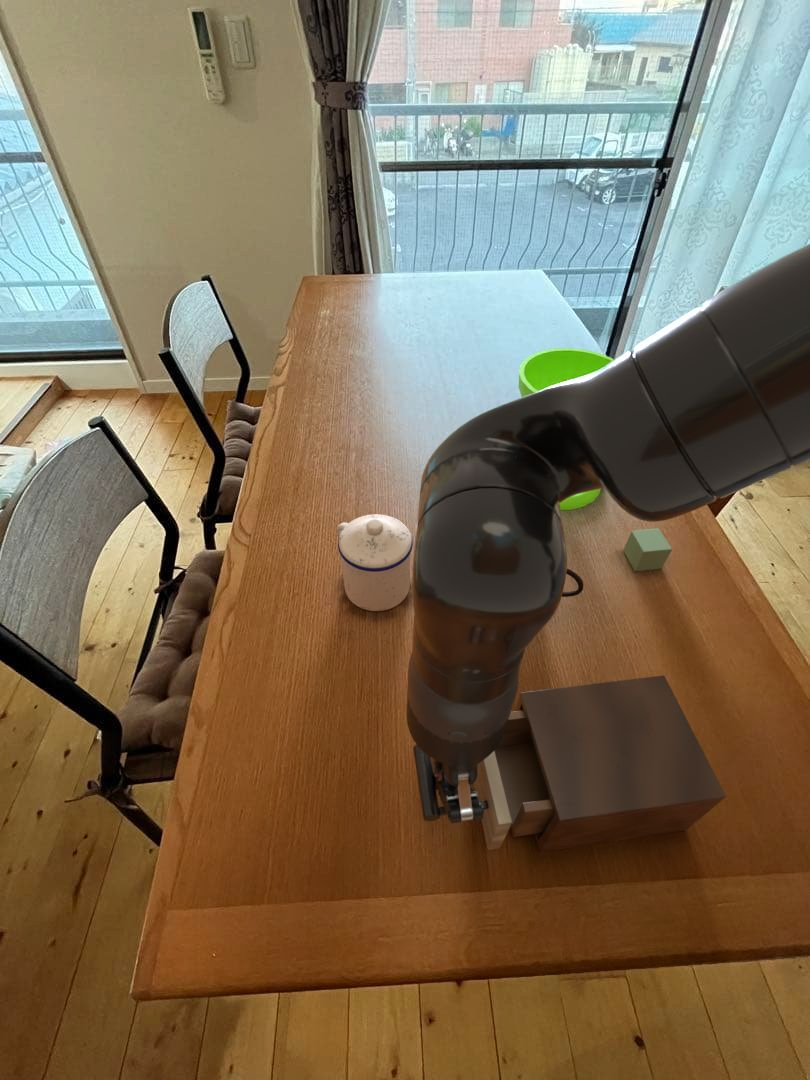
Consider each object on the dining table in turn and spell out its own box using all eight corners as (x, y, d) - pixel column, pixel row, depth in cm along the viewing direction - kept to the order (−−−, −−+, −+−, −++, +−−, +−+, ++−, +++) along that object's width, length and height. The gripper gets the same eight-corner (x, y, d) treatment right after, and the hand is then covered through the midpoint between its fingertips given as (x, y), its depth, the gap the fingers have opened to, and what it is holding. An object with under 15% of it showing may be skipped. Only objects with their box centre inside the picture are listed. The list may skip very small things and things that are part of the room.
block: (649, 547, 79) (658, 528, 76) (662, 568, 76) (672, 549, 73) (622, 550, 78) (631, 530, 76) (634, 571, 76) (643, 551, 73)
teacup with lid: (425, 587, 73) (429, 525, 65) (373, 626, 69) (370, 564, 61) (367, 539, 79) (363, 477, 71) (315, 572, 75) (305, 509, 67)
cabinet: (539, 852, 52) (559, 820, 45) (507, 733, 60) (520, 692, 53) (686, 830, 53) (727, 796, 47) (635, 717, 61) (664, 674, 54)
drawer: (425, 859, 50) (428, 834, 45) (409, 748, 57) (410, 715, 52) (627, 829, 52) (653, 802, 47) (587, 725, 59) (606, 692, 54)
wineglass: (576, 441, 96) (604, 343, 83) (619, 502, 85) (659, 400, 72) (488, 453, 94) (503, 353, 81) (521, 517, 83) (544, 414, 70)
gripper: (539, 776, 35) (501, 853, 48) (490, 608, 44) (469, 710, 57) (422, 792, 34) (415, 866, 47) (396, 618, 43) (396, 719, 56)
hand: (444, 780), depth 52 cm, fingers closed
